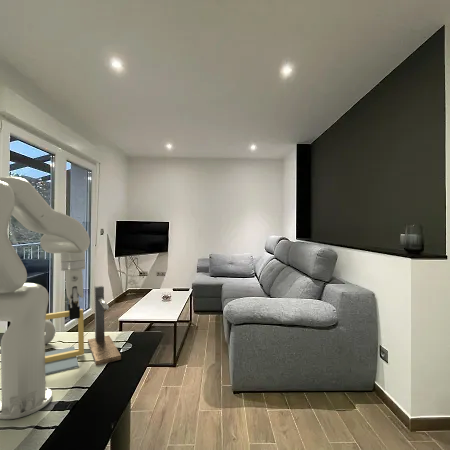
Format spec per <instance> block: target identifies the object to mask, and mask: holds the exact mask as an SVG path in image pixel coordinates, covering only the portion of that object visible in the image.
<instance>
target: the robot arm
mask: <svg viewBox="0 0 450 450" xmlns="http://www.w3.org/2000/svg"><path fill="white" fill-rule="evenodd" d="M11 217H13V218H14V219H16V220H17V222H19V223H20V225H22V226H23V227H24V228H25V229H27V230H28V231H30V232H31V231H32V232H34V233H38V234H42V236H41V238H40V239H39V242H40V247H41V250H43V252H46V253H48V254H60V263H61V265H60V266H61V267H60V268H61V269H60V271H62V272H64V278H65V279H64V280H65V290H66V291H65V292H66V297H67V299H68V304H67V305H68V306H67V307H68V308H67V309H68V310H67V311H69V316H68V317H69V321H70V320H76V319H77V320H78V318H80V309H81V308H80V298H81V299H83V298H84V279H83V277H84V276H83V270H85V269H86V251H87V250H88V249H89V247H90V245H91V239H90V235H89V233H88V231H87V230H86V229H85V227H84V226H83V224H82V223H81V222H80V221H79V220H77V219H76V218H74V217H72V216H70V215H67V214H66V213H63V212H61V211H59V210H56V209H54V208H52V207H51V206H50V205H49V203H48V202H47V201H46V200H45V199H44V197H43V196H42V195H41V194H40V192H38V191H37V189H36V188H35V187H34V185H33V184H31V183H30V181H28V180H27V179H25V178H22V177H18V176H0V322H10V324H9V326H8V328H6V330H5V331H4V333H3V335H2V337H1V339H0V371H1V372H0V373H1V374H0V376H1V377H0V378H1V379H0V380H1V387H0V389H1V399H0V420H13V419H14V420H15V419H19V418H24V417H26V416H29V415H31V414H34V413H36V412H39V411H40V410H41V409H43V408H44V407H46V406H47V405H48V404H50V402H51V400H53V390H52V389H51V388H49V387H47V385H46V384H47V383H46V375H45V352H46V344H45V318H46V314H47V311H48V305H49V298H50V297H49V296H50V295H49V292H48V290H47V288H46V287H44V286H43V285H42V284H39V283H34V282H27V280H28V273H27V269H26V267H25V265H24V263H23V261H22V260H21V258H20V256H19V254H18V252H17V250H16V249H15V248H14V246H13V244H12V241H11V240H10V238H9V235H8V231H9V230H8V229H9V224H10V220H11Z"/></svg>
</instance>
